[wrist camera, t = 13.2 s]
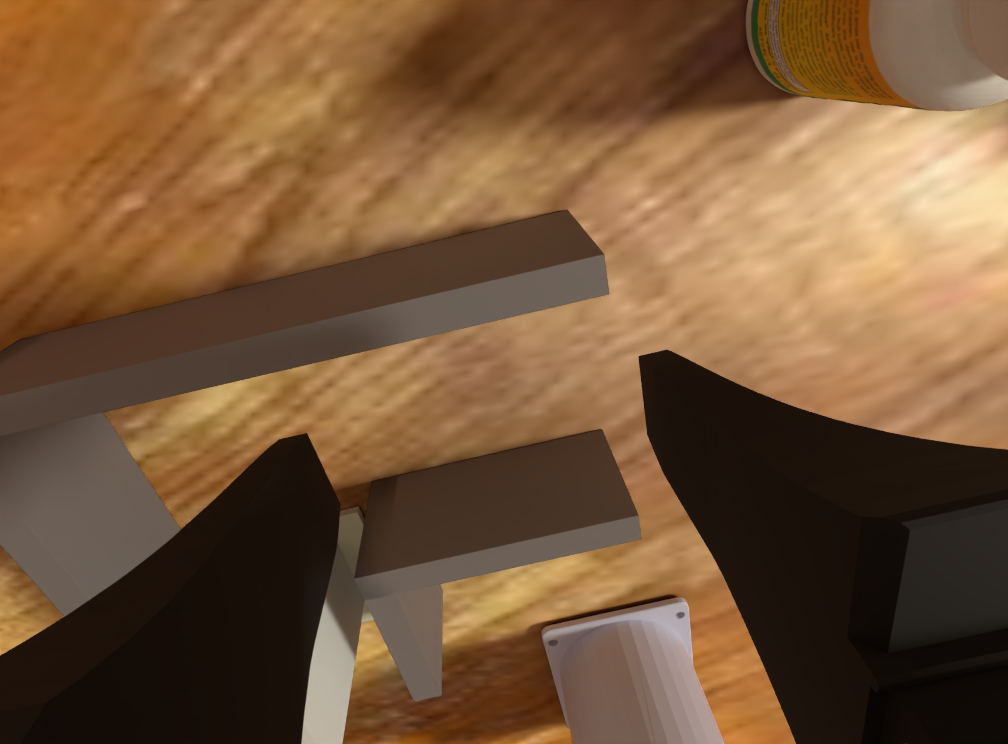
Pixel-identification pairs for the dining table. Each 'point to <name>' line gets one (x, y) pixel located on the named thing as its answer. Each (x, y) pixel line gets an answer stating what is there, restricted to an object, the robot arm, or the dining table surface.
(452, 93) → the dining table surface
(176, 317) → the rails
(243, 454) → the dining table surface
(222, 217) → the dining table surface
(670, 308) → the dining table surface
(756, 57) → the supplement bottle
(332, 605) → the block
